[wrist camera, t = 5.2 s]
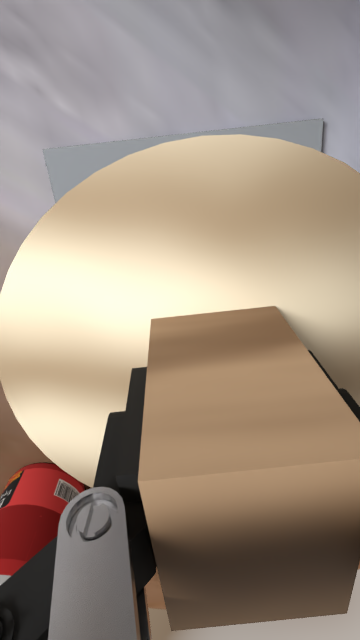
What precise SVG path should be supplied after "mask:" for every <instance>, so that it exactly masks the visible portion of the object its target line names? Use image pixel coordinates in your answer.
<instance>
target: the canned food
mask: <svg viewBox="0 0 360 640" xmlns="http://www.w3.org/2000/svg"><path fill="white" fill-rule="evenodd" d="M83 491H85V489H84V484H83V483H82V482H80V481H78V480H77V479H75V478H74V477H73V476H71V475H70V474H68V473H67V472H65V471H64V470H62V469H61V468H60V467H59V466H57V465H55V464H50V463H36V464H30V465H28V466H25V467H23V468H21V469H20V470H18V471H17V472H16V473H15V474H14V475H13V476H12V477H11V478H10V480H9V481H8V483H7V485H6V487H5V489H4V491H3V493H2V495H1V497H0V585H1V584H3V583H4V582H5V581H6V580H7V579H8V578H9V577H11V576H12V575H13V574H14V573H15V572H16V571H17V570H19V569H20V568H21V567H22V566H23V565H24V564H25V563H27V562H28V561H29V560H30V559H31V558H32V557H33V556H35V555H36V554H37V553H38V552H39V551H40V550H41V549H43V548H44V547H45V546H46V545H47V544H48V543H49V542H51V541H52V540H53V539H54V538H55V537H56V536H57V535H58V526H59V522H60V518H61V514H62V513H63V511H64V509H65V507H66V506H67V505H68V504H69V502H70V501H71V500H72V499H73V498H74V497H76V496H77V495H79V494H80V493H81V492H83Z"/></svg>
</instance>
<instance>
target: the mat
mask: <svg viewBox="0 0 360 640" xmlns="http://www.w3.org/2000/svg"><path fill="white" fill-rule="evenodd" d="M322 132H323V118H322V119H313V120H304V121H295V122H286V123H277V124H268V125H259V126H249V127H240V128H231V129H222V130H213V131H204V132H195V133H186V134H177V135H167V136H158V137H149V138H140V139H131V140H122V141H113V142H104V143H95V144H86V145H76V146H67V147H58V148H49V149H43V154H44V158H45V162H46V166H47V170H48V174H49V178H50V182H51V187H52V191H53V195H54V199H55V203H57V202H58V201H59V200H60V199H61V198H62V197H63V196H64V195H65V194H66V193H67V192H69V191H70V190H71V189H73V188H74V187H75V186H77V185H78V184H80V183H81V182H82V181H84V180H85V179H87V178H88V177H89V176H91V175H92V174H93V173H95V172H97V171H99V170H100V169H102V168H104V167H106V166H108V165H110V164H112V163H114V162H116V161H118V160H120V159H122V158H124V157H126V156H128V155H130V154H133V153H136V152H139V151H142V150H145V149H148V148H150V147H153V146H156V145H159V144H162V143H165V142H171V141H176V140H182V139H187V138H192V137H198V136H207V135H236V134H242V135H251V136H259V137H268V138H276V139H281V140H285V141H288V142H292V143H295V144H299V145H302V146H306V147H310V148H313V149H315V150H317V151H320V152H321V146H322Z"/></svg>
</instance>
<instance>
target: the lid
mask: <svg viewBox="0 0 360 640" xmlns="http://www.w3.org/2000/svg"><path fill="white" fill-rule="evenodd" d="M308 350H310V351H311V352H312V353H313V354H314V356H315V357H316V358H317V360H318V361H319V362H320V364H321V365H322V366H323V368H324V369H325V370H326V372H327V373H328V374H329V376H330V377H331V379H332V380H333V381H334V383H335V384H336V385H337V387H338V388H339V389H340V388H343V389H346V390H347V391H348V392H349V394H350V395H351V396H352V397H353V399H354V400H355V401H356V403H357V404H358V405H359V407H360V173H359V172H357V171H356V170H354V169H353V168H351V167H350V166H348V165H347V164H345V163H344V162H341V161H339V160H337V159H335V158H333V157H330V156H328V155H326V154H324V153H322V152H320V151H317V150H315V149H313V148H310V147H306V146H302V145H299V144H295V143H292V142H288V141H285V140H281V139H276V138H268V137H259V136H251V135H242V134H236V135H207V136H198V137H192V138H187V139H182V140H176V141H171V142H165V143H162V144H159V145H156V146H153V147H150V148H148V149H145V150H142V151H139V152H136V153H133V154H130V155H128V156H126V157H124V158H122V159H120V160H118V161H116V162H114V163H112V164H110V165H108V166H106V167H104V168H102V169H100V170H99V171H97V172H95V173H93V174H92V175H91V176H89V177H88V178H87V179H85V180H84V181H82V182H81V183H80V184H78V185H77V186H75V187H74V188H73V189H71V190H70V191H69V192H67V193H66V194H65V195H64V196H63V197H62V198H61V199H60V200H59V201H58V202H57V203H56V204H55V205H54V206H53V207H52V208H51V209H50V210H49V211H48V212H47V213H46V214H45V215H44V216H43V217H42V218H41V219H40V220H39V222H38V223H37V224H36V226H35V227H34V228H33V230H32V231H31V232H30V234H29V235H28V236H27V238H26V239H25V241H24V242H23V243H22V245H21V247H20V249H19V251H18V253H17V255H16V257H15V259H14V260H13V262H12V264H11V266H10V268H9V270H8V273H7V276H6V279H5V282H4V285H3V288H2V291H1V294H0V380H1V383H2V386H3V389H4V392H5V395H6V398H7V400H8V402H9V404H10V406H11V408H12V410H13V412H14V414H15V416H16V418H17V420H18V421H19V423H20V424H21V426H22V427H23V429H24V430H25V432H26V433H27V435H28V436H29V437H30V439H31V440H32V441H33V442H34V443H35V444H36V445H37V446H38V448H39V449H40V450H41V451H42V452H43V453H44V454H45V455H46V456H47V457H48V458H49V459H51V460H52V461H53V462H54V463H55V464H56V465H57V466H59V467H60V468H61V469H62V470H64V471H65V472H67V473H68V474H70V475H71V476H73V477H74V478H75V479H77V480H78V481H80V482H82V483H84V484H86V485H87V486H89V487H91V488H93V485H94V480H95V475H96V471H97V466H98V461H99V457H100V452H101V447H102V443H103V438H104V433H105V429H106V424H107V419H108V416H109V414H110V412H120V411H125V410H126V403H127V397H128V390H129V384H130V377H131V370H132V368H140V367H147V375H146V387H145V399H144V412H143V424H142V436H141V449H140V461H139V473H138V485H139V489H140V494H141V498H142V503H143V507H144V511H145V516H146V520H147V525H148V529H149V534H150V538H151V543H152V547H153V551H154V556H155V560H156V565H157V569H158V574H159V578H160V583H161V587H162V592H163V596H164V600H165V605H166V609H167V614H168V618H169V623H170V627H171V631H176V630H186V629H196V628H206V627H216V626H226V625H236V624H246V623H255V622H266V621H276V620H286V619H295V618H305V617H316V616H326V615H335V614H345V613H347V611H348V606H349V602H350V598H351V594H352V590H353V586H354V581H355V577H356V573H357V569H358V565H359V561H360V422H359V420H358V419H357V418H356V416H355V415H354V413H353V412H352V411H351V409H350V408H349V407H348V405H347V404H346V402H345V401H344V400H343V398H342V397H341V396H340V394H339V393H338V391H337V390H336V389H335V387H334V386H333V385H332V383H331V382H330V380H329V379H328V378H327V376H326V375H325V374H324V372H323V371H322V369H321V368H320V367H319V365H318V364H317V363H316V361H315V360H314V358H313V357H312V356H311V354H310V353H309V352H308Z"/></svg>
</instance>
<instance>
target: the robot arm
mask: <svg viewBox="0 0 360 640" xmlns="http://www.w3.org/2000/svg"><path fill="white" fill-rule="evenodd" d="M308 352H309V353H310V354H311V356H312V357H313V358H314V360H315V361H316V363H317V364H318V365H319V367H320V368H321V369H322V371H323V372H324V374H325V375H326V376H327V378H328V379H329V380H330V382H331V383H332V385H333V386H334V387H335V389H336V390H337V391H338V393H339V394H340V396H341V397H342V398H343V400H344V401H345V402H346V404H347V405H348V407H349V408H350V409H351V411H352V412H353V413H354V415H355V416H356V418H357V419H358V420H359V422H360V407H359V405H358V404H357V403H356V401H355V400H354V399H353V397H352V396H351V395H350V394H349V392H348V391H347V390H346V389H343V388H340V389H339V388H338V387H337V385H336V384H335V383H334V381H333V380H332V379H331V377H330V376H329V374H328V373H327V372H326V370H325V369H324V368H323V366H322V365H321V364H320V362H319V361H318V360H317V358H316V357H315V356H314V354H313V353H312V352H311V351H310V350H308ZM146 375H147V367H140V368H132V370H131V377H130V384H129V390H128V397H127V403H126V410H125V411H120V412H110V414H109V416H108V419H107V424H106V429H105V433H104V438H103V443H102V447H101V452H100V457H99V461H98V466H97V471H96V475H95V480H94V485H93V488H91V489H88V490H86V491H83V492H81V493H80V494H79V495H77V496H76V497H74V498H73V499H72V500H71V501H70V502H69V504H68V505H67V506H66V507H65V509H64V511H63V513H62V514H61V518H60V522H59V526H58V535H57V536H56V537H55V538H54V539H53V540H52V541H51V542H49V543H48V544H47V545H46V546H45V547H44V548H43V549H41V550H40V551H39V552H38V553H37V554H36V555H35V556H33V557H32V558H31V559H30V560H29V561H28V562H27V563H25V564H24V565H23V566H22V567H21V568H20V569H19V570H17V571H16V572H15V573H14V574H13V575H12V576H11V577H9V578H8V579H7V580H6V581H5V582H4V583H3V584H1V585H0V640H152V636H151V629H150V621H149V612H148V604H147V595H146V587H145V585H146V584H147V583H148V582H149V580H150V579H151V578H152V577H153V576H154V574H155V573H156V566H157V565H156V560H155V556H154V551H153V547H152V543H151V538H150V534H149V529H148V525H147V520H146V516H145V511H144V507H143V503H142V498H141V494H140V489H139V485H138V473H139V461H140V449H141V436H142V424H143V412H144V399H145V387H146Z"/></svg>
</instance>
